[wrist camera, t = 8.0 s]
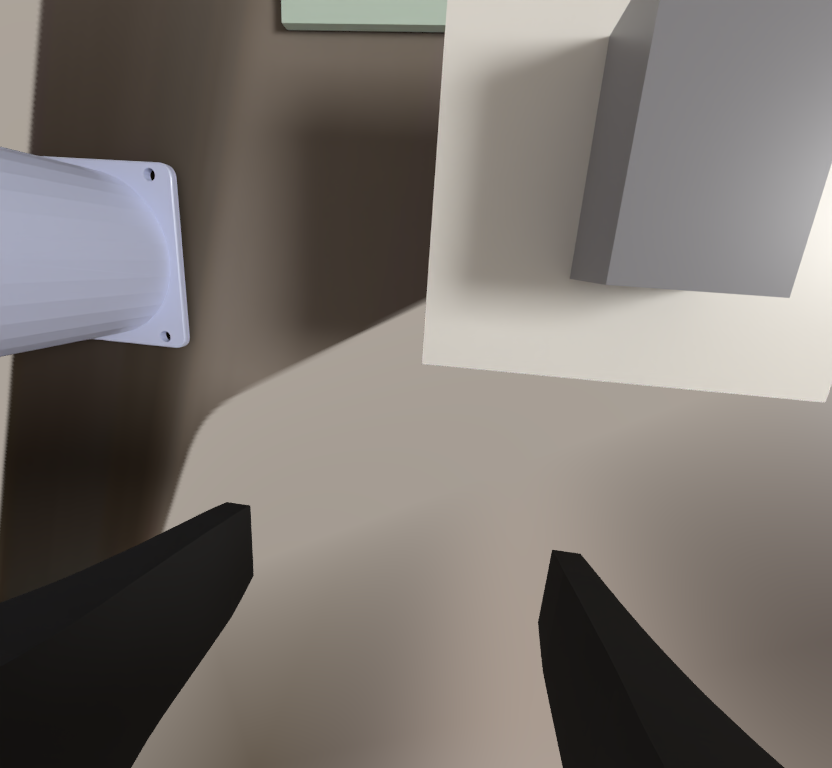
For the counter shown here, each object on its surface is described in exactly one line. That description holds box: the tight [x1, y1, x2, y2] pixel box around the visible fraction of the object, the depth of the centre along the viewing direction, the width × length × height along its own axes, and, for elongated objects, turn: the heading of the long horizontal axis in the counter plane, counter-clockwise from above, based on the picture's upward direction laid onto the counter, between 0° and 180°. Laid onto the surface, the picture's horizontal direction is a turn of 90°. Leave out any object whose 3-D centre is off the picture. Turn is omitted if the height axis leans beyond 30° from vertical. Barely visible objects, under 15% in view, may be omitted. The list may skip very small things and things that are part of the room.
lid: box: [422, 0, 832, 402], centre depth 8 cm, size 10×10×4 cm
